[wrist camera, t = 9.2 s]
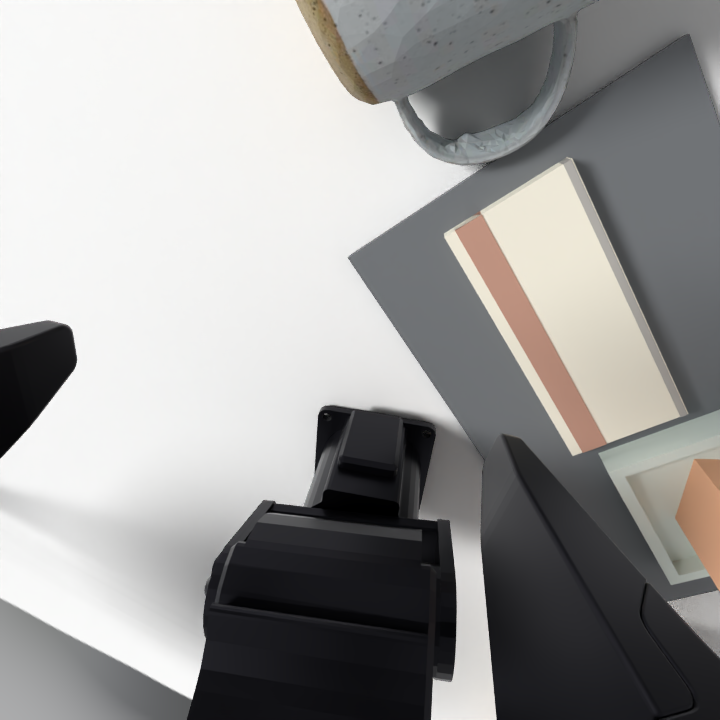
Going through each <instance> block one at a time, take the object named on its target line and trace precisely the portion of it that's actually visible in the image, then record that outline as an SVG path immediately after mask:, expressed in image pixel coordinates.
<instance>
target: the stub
mask: <svg viewBox="0 0 720 720" xmlns="http://www.w3.org/2000/svg"><path fill="white" fill-rule="evenodd" d="M675 519H676V521H677V522H678V524H679V526H680V527H681V529H682V531H683V532H684V534H685V535H686V537H687V539H688V540H689V542H690V544H691V545H692V547H693V549H694V550H695V552H696V554H697V555H698V557H699V559H700V560H701V562H702V564H703V565H704V567H705V568H706V570H707V572H708V573H709V575H710V577H711V578H712V580H713V582H714V583H715V585H716V587H717V588H718V590H719V592H720V459H694V461H693V464H692V467H691V470H690V473H689V476H688V479H687V482H686V485H685V489H684V492H683V495H682V498H681V501H680V504H679V507H678V510H677V513H676V516H675Z"/></svg>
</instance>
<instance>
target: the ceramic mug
mask: <svg viewBox="0 0 720 720" xmlns="http://www.w3.org/2000/svg"><path fill="white" fill-rule="evenodd" d="M597 1H599V0H296V3H297V5H298V7H299V9H300V11H301V13H302V15H303V17H304V19H305V21H306V23H307V24H308V26H309V28H310V30H311V32H312V34H313V36H314V38H315V40H316V42H317V44H318V45H319V47H320V49H321V51H322V52H323V54H324V56H325V57H326V59H327V61H328V63H329V64H330V66H331V68H332V69H333V71H334V72H335V74H336V75H337V77H338V78H339V80H340V81H341V83H342V84H343V86H344V87H345V88H346V89H347V90H348V92H349V93H350V94H351V95H352V96H354V97H355V98H356V99H358V100H360V101H363V102H366V103H369V104H372V105H375V104H379V103H383V102H387V101H391V100H392V101H394V102H395V104H396V106H397V109H398V111H399V114H400V117H401V119H402V121H403V123H404V126H405V128H406V129H407V130H408V131H409V132H410V134H411V135H412V137H413V139H414V141H415V142H416V143H417V144H418V145H419V146H420V147H422V148H423V149H424V150H425V151H426V152H427V153H428V154H429V155H431V156H432V157H434V158H436V159H439V160H441V161H444V162H447V163H451V164H457V165H475V164H482V163H487V162H490V161H493V160H496V159H499V158H501V157H503V156H506V155H508V154H510V153H512V152H514V151H516V150H518V149H520V148H521V147H523V146H524V145H526V144H527V143H529V142H530V141H531V140H532V139H533V138H535V137H536V136H537V135H538V134H539V133H540V132H541V131H542V129H543V128H544V127H545V125H546V124H547V123H548V121H549V120H550V118H551V116H552V115H553V113H554V112H555V110H556V108H557V107H558V105H559V103H560V101H561V98H562V96H563V93H564V91H565V90H566V87H567V83H568V79H569V76H570V72H571V68H572V64H573V59H574V53H575V46H576V33H577V13H578V11H579V10H580V9H582V8H584V7H586V6H588V5H590V4H593V3H595V2H597ZM552 23H554V40H553V50H552V56H551V60H550V64H549V68H548V73H547V77H546V79H545V81H544V84H543V86H542V88H541V90H540V93H539V95H538V96H537V97H536V99H535V101H534V103H533V104H532V105H531V106H530V107H529V108H528V109H527V110H525V111H524V112H522V113H521V114H520V115H519V116H518V117H517V118H515V119H513V120H511V121H508V122H506V123H503V124H500V125H498V126H495V127H493V128H490V129H488V130H485V131H482V132H478V133H474V134H470V133H464V134H463V135H462V136H460V137H459V138H458V139H457V140H450V139H445V138H443V137H441V136H439V135H438V134H436V133H434V132H432V131H430V130H429V129H428V128H427V127H426V126H425V125H424V123H423V121H422V120H421V119H419V118H418V116H417V114H416V113H415V111H414V109H413V108H412V106H411V104H410V103H409V100H408V97H407V96H409V95H411V94H413V93H415V92H418V91H420V90H422V89H424V88H426V87H428V86H430V85H432V84H434V83H435V82H437V81H439V80H441V79H443V78H445V77H447V76H449V75H450V74H452V73H454V72H455V71H457V70H459V69H461V68H463V67H464V66H466V65H468V64H470V63H472V62H474V61H476V60H478V59H480V58H482V57H484V56H486V55H487V54H490V53H492V52H494V51H496V50H499V49H501V48H503V47H505V46H508V45H510V44H512V43H515V42H517V41H519V40H521V39H523V38H525V37H527V36H528V35H530V34H532V33H534V32H536V31H538V30H540V29H542V28H543V27H545V26H547V25H550V24H552Z"/></svg>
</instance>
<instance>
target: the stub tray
mask: <svg viewBox="0 0 720 720" xmlns="http://www.w3.org/2000/svg"><path fill="white" fill-rule="evenodd" d="M598 454H599V456H600V458H601V460H602V462H603V464H604V466H605V468H606V470H607V472H608V474H609V476H610V477H611V479H612V481H613V483H614V485H615V486H616V488H617V490H618V492H619V493H620V495H621V497H622V499H623V501H624V502H625V504H626V506H627V508H628V509H629V511H630V513H631V515H632V517H633V518H634V520H635V522H636V524H637V525H638V527H639V529H640V531H641V533H642V534H643V536H644V538H645V540H646V542H647V543H648V545H649V547H650V549H651V550H652V552H653V554H654V556H655V558H656V559H657V561H658V563H659V565H660V566H661V568H662V570H663V572H664V574H665V575H666V577H667V579H668V581H669V582H670V584H671V585H674V584H679V583H683V582H687V581H691V580H695V579H700V578H704V577H708V576H710V575H709V573H708V572H707V570H706V568H705V567H704V565H703V564H702V562H701V560H700V559H699V557H698V555H697V554H696V552H695V550H694V549H693V547H692V545H691V544H690V542H689V540H688V539H687V537H686V535H685V534H684V532H683V531H682V529H681V527H680V526H679V524H678V522H677V521H676V519H675V516H676V513H677V510H678V507H679V504H680V501H681V498H682V495H683V492H684V489H685V485H686V482H687V479H688V476H689V473H690V470H691V467H692V464H693V461H694V459H720V410H717V411H714V412H712V413H709V414H706V415H703V416H700V417H698V418H695V419H692V420H689V421H687V422H684V423H681V424H678V425H675V426H673V427H670V428H667V429H664V430H662V431H659V432H656V433H653V434H650V435H648V436H645V437H642V438H639V439H637V440H634V441H631V442H628V443H625V444H623V445H620V446H617V447H614V448H612V449H609V450H606V451H603V452H600V453H598Z"/></svg>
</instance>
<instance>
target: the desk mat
mask: <svg viewBox="0 0 720 720" xmlns="http://www.w3.org/2000/svg"><path fill="white" fill-rule="evenodd" d="M566 157H568V158H572V159H573V161H574V163H575V165H576V168H577V170H578V172H579V174H580V176H581V179H582V181H583V183H584V185H585V187H586V190H587V192H588V194H589V196H590V198H591V201H592V203H593V205H594V207H595V209H596V212H597V214H598V216H599V218H600V220H601V222H602V225H603V227H604V229H605V231H606V233H607V236H608V238H609V240H610V242H611V244H612V247H613V249H614V251H615V253H616V255H617V258H618V260H619V262H620V264H621V266H622V269H623V271H624V273H625V275H626V277H627V280H628V282H629V284H630V286H631V288H632V291H633V293H634V295H635V297H636V299H637V302H638V304H639V306H640V308H641V310H642V313H643V315H644V317H645V319H646V321H647V324H648V326H649V328H650V330H651V332H652V335H653V337H654V339H655V341H656V343H657V346H658V348H659V350H660V352H661V354H662V357H663V359H664V361H665V363H666V365H667V367H668V370H669V372H670V374H671V376H672V378H673V381H674V383H675V385H676V387H677V389H678V392H679V394H680V396H681V398H682V400H683V403H684V405H685V407H686V409H687V411H688V415H685V416H683V417H678V418H676V419H673V420H670V421H667V422H665V423H662V424H659V425H656V426H654V427H651V428H648V429H645V430H643V431H640V432H637V433H634V434H632V435H629V436H626V437H624V438H621V439H618V440H615V441H613V442H610V443H607V444H606V445H603V446H601V447H598V448H595V449H592V450H590V451H587V452H584V453H580V454H577V455H574V456H572V454H571V452H570V451H569V449H568V447H567V446H566V444H565V442H564V440H563V439H562V437H561V435H560V434H559V432H558V430H557V429H556V427H555V425H554V423H553V422H552V420H551V418H550V417H549V415H548V413H547V411H546V410H545V408H544V406H543V405H542V403H541V401H540V400H539V398H538V396H537V394H536V393H535V391H534V389H533V388H532V386H531V384H530V383H529V381H528V379H527V377H526V376H525V374H524V372H523V371H522V369H521V367H520V365H519V364H518V362H517V360H516V359H515V357H514V355H513V354H512V352H511V350H510V348H509V347H508V345H507V343H506V342H505V340H504V338H503V337H502V335H501V333H500V331H499V330H498V328H497V326H496V325H495V323H494V321H493V319H492V318H491V316H490V314H489V313H488V311H487V309H486V308H485V306H484V304H483V302H482V301H481V299H480V297H479V296H478V294H477V292H476V291H475V289H474V287H473V285H472V284H471V282H470V280H469V279H468V277H467V275H466V273H465V272H464V270H463V268H462V267H461V265H460V263H459V262H458V260H457V258H456V256H455V255H454V253H453V251H452V250H451V248H450V246H449V245H448V243H447V241H446V239H445V238H444V233H446V232H447V231H449V230H450V229H452V228H454V227H455V226H457V225H458V224H460V223H462V222H463V221H465V220H466V219H468V218H470V217H471V216H473V215H475V214H476V213H478V212H479V211H481V210H483V209H484V208H486V207H487V206H489V205H491V204H492V203H494V202H495V201H497V200H499V199H500V198H502V197H504V196H505V195H507V194H508V193H510V192H512V191H513V190H515V189H516V188H518V187H520V186H521V185H523V184H525V183H526V182H528V181H529V180H531V179H533V178H534V177H536V176H537V175H539V174H541V173H542V172H544V171H545V170H547V169H549V168H550V167H552V166H554V165H555V164H557V163H558V162H560V161H562V160H563V159H565V158H566ZM348 259H349V260H350V262H351V263H352V265H353V266H354V268H355V269H356V271H357V272H358V274H359V275H360V277H361V278H362V280H363V281H364V282H365V284H366V285H367V287H368V288H369V290H370V291H371V293H372V294H373V296H374V297H375V299H376V300H377V302H378V303H379V305H380V306H381V308H382V309H383V311H384V312H385V314H386V315H387V317H388V318H389V319H390V321H391V322H392V324H393V325H394V327H395V328H396V330H397V331H398V333H399V334H400V336H401V337H402V339H403V340H404V342H405V343H406V345H407V346H408V348H409V349H410V351H411V352H412V354H413V355H414V356H415V358H416V359H417V361H418V362H419V364H420V365H421V367H422V368H423V370H424V371H425V373H426V374H427V376H428V377H429V379H430V380H431V382H432V383H433V385H434V386H435V388H436V389H437V391H438V392H439V393H440V395H441V396H442V398H443V399H444V401H445V402H446V404H447V405H448V407H449V408H450V410H451V411H452V413H453V414H454V416H455V417H456V419H457V420H458V422H459V423H460V425H461V426H462V428H463V429H464V430H465V432H466V433H467V435H468V436H469V438H470V439H471V441H472V442H473V444H474V445H475V447H476V448H477V450H478V451H479V453H480V454H481V456H482V457H483V459H484V460H486V458H487V456H488V454H489V452H490V450H491V448H492V446H493V443H494V441H495V439H496V438H497V436H498V435H499V434H501V433H504V434H508V435H513V436H517V437H519V438H521V439H522V440H523V441H524V442H525V443H526V444H527V445H528V447H529V448H530V449H531V450H532V451H533V452H534V453H535V454H536V456H537V457H538V458H539V459H540V460H541V461H542V462H543V463H544V465H545V466H546V467H547V468H548V469H549V470H550V471H551V472H552V474H553V475H554V476H555V477H556V478H557V479H558V480H559V481H560V483H561V484H562V485H563V486H564V487H565V488H566V489H567V490H568V492H569V493H570V494H571V495H572V496H573V497H574V498H575V499H576V501H577V502H578V503H579V504H580V505H581V506H582V507H583V508H584V510H585V511H586V512H587V513H588V514H589V515H590V516H591V517H592V519H593V520H594V521H595V522H596V523H597V524H598V525H599V526H600V528H601V529H602V530H603V531H604V532H605V533H606V534H607V535H608V537H609V538H610V539H611V540H612V541H613V542H614V543H615V544H616V546H617V547H618V548H619V549H620V550H621V551H622V552H623V553H624V555H625V556H626V557H627V558H628V559H629V560H630V561H631V562H632V564H633V565H634V566H635V567H636V568H637V569H638V570H639V571H640V573H641V574H642V575H643V576H644V577H645V578H646V583H650V584H651V585H652V586H653V587H654V588H655V589H656V590H657V591H658V593H659V594H660V595H661V596H662V597H663V598H664V599H665V600H666V602H667V601H672V600H676V599H681V598H685V597H689V596H694V595H698V594H703V593H707V592H712V591H716V590H718V588H717V587H716V585H715V583H714V582H713V580H712V578H711V577H710V576H708V577H704V578H700V579H695V580H691V581H687V582H683V583H679V584H674V585H671V584H670V582H669V581H668V579H667V577H666V575H665V574H664V572H663V570H662V568H661V566H660V565H659V563H658V561H657V559H656V558H655V556H654V554H653V552H652V550H651V549H650V547H649V545H648V543H647V542H646V540H645V538H644V536H643V534H642V533H641V531H640V529H639V527H638V525H637V524H636V522H635V520H634V518H633V517H632V515H631V513H630V511H629V509H628V508H627V506H626V504H625V502H624V501H623V499H622V497H621V495H620V493H619V492H618V490H617V488H616V486H615V485H614V483H613V481H612V479H611V477H610V476H609V474H608V472H607V470H606V468H605V466H604V464H603V462H602V460H601V458H600V456H599V454H598V453H600V452H603V451H606V450H609V449H612V448H614V447H617V446H620V445H623V444H625V443H628V442H631V441H634V440H637V439H639V438H642V437H645V436H648V435H650V434H653V433H656V432H659V431H662V430H664V429H667V428H670V427H673V426H675V425H678V424H681V423H684V422H687V421H689V420H692V419H695V418H698V417H700V416H703V415H706V414H709V413H712V412H714V411H717V410H720V124H719V121H718V118H717V115H716V112H715V109H714V106H713V103H712V100H711V97H710V94H709V91H708V88H707V85H706V82H705V79H704V76H703V73H702V70H701V67H700V64H699V61H698V59H697V56H696V53H695V50H694V47H693V44H692V41H691V38H690V35H689V34H687V35H684V36H682V37H681V38H679V39H678V40H676V41H675V42H673V43H672V44H670V45H669V46H667V47H666V48H664V49H663V50H661V51H660V52H658V53H657V54H655V55H654V56H652V57H650V58H649V59H647V60H646V61H644V62H643V63H641V64H640V65H638V66H637V67H635V68H634V69H632V70H631V71H629V72H628V73H626V74H625V75H623V76H622V77H620V78H619V79H617V80H616V81H614V82H612V83H611V84H609V85H608V86H606V87H605V88H603V89H602V90H600V91H599V92H597V93H596V94H594V95H593V96H591V97H590V98H588V99H587V100H585V101H584V102H582V103H581V104H579V105H578V106H576V107H575V108H573V109H571V110H570V111H568V112H567V113H565V114H564V115H562V116H561V117H559V118H558V119H556V120H555V121H553V122H552V123H550V124H549V125H547V126H546V127H544V128H543V129H542V131H541V132H540V133H539V134H538V135H537V136H536V137H535V138H533V139H532V140H531V141H530V142H529V143H527V144H526V145H524V146H523V147H521V148H520V149H518V150H516V151H514V152H512V153H510V154H508V155H506V156H503V157H501V158H499V159H496V160H494V161H492V162H491V163H489V164H488V165H486V166H485V167H483V168H482V169H480V170H479V171H477V172H476V173H474V174H473V175H471V176H470V177H468V178H467V179H465V180H464V181H462V182H461V183H459V184H458V185H456V186H454V187H453V188H451V189H450V190H448V191H447V192H445V193H444V194H442V195H441V196H439V197H438V198H436V199H435V200H433V201H432V202H430V203H429V204H427V205H426V206H424V207H423V208H421V209H420V210H418V211H416V212H415V213H413V214H412V215H410V216H409V217H407V218H406V219H404V220H403V221H401V222H400V223H398V224H397V225H395V226H394V227H392V228H391V229H389V230H388V231H386V232H385V233H383V234H382V235H380V236H378V237H377V238H375V239H374V240H372V241H371V242H369V243H368V244H366V245H365V246H363V247H362V248H360V249H359V250H357V251H356V252H354V253H353V254H351V255H350V256H349V257H348Z"/></svg>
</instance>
